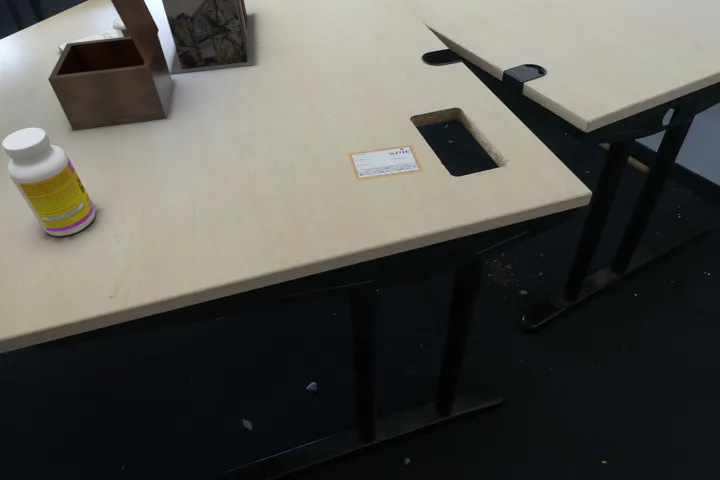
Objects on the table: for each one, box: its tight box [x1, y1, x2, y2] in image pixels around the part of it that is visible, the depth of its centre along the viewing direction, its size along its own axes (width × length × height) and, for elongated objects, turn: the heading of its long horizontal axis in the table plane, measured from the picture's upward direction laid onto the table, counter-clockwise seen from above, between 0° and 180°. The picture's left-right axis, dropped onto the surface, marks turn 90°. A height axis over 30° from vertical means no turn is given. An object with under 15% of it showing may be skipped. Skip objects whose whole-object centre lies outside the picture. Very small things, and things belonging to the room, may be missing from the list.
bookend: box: [161, 0, 256, 75], centre depth 103 cm, size 16×25×16 cm, turn 9°
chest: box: [48, 34, 174, 131], centre depth 89 cm, size 15×13×9 cm
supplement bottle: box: [1, 127, 96, 237], centre depth 66 cm, size 7×7×13 cm
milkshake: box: [112, 15, 130, 38], centre depth 99 cm, size 4×5×10 cm
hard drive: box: [57, 28, 118, 54], centre depth 108 cm, size 2×8×12 cm
